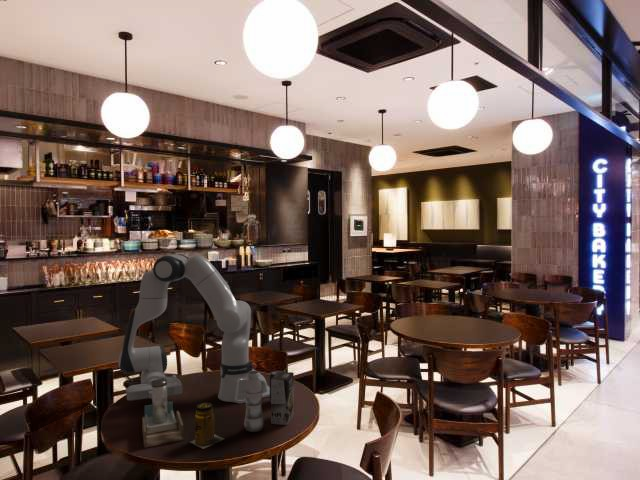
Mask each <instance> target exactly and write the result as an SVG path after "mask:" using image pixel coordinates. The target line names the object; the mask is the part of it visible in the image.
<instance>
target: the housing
mask: <svg viewBox="0 0 640 480" xmlns="http://www.w3.org/2000/svg"><path fill="white" fill-rule="evenodd" d="M176 422H177V429H172V430H166V431H161V432H155V433H150V434H147V432H146V425H145V416H142V417H141V427H142V429H141V432H142V439H143V447H144V448H149V447H154V446H155V447H156V446H161V445H164V444H169V443H170V444H171V443H175V442H180V441H184V440H185V439H184V423H183V419H182V416H181V413H180V410H177V411H176ZM144 448H143V449H144Z"/></svg>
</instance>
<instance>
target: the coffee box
mask: <svg viewBox="0 0 640 480" xmlns="http://www.w3.org/2000/svg"><path fill="white" fill-rule="evenodd" d="M294 375H295V374H294V372H292V371H291V372H289V371H288V372H287V371H285V372H277V373H276V375H275V376H274V377H273V378H272V379H271V401H270V424H273V425H281V426H287V425H288V424H289V423H290V421H291V420H292V418H293V417H294V414H295V413H294V411H295V410H294V408H295V407H294V405H295V403H294V402H295V400H294V399H295V397H294V394H295V393H294V391H295V390H294V385H295V384H294V383H295V382H294Z"/></svg>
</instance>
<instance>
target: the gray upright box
mask: <svg viewBox="0 0 640 480" xmlns="http://www.w3.org/2000/svg"><path fill="white" fill-rule="evenodd" d="M277 372H286V370H280V369H277V370H272V371H271V373H270V375H269V387H270V396H269V401H270V402H271V379H272V378H273V377H274V376H275V375H276V373H277Z"/></svg>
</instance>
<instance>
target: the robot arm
mask: <svg viewBox="0 0 640 480" xmlns="http://www.w3.org/2000/svg"><path fill="white" fill-rule="evenodd" d="M185 278H186V279H188V280H189V281H190V282H191V283H192V284H193V286H194V287H195V288H196V289H197V291H198V292H199V294H200V295H201V296H202V298H203V299H204V300H205V301H206V304H207V305H208V307H209V309H210V310H211V313H212V315H213V316H214V319H215V320H216V325H217V327H218V328H219V330H221V331H222V332H223V335H222V340H221V362H220V367H219V369H220V371H219V372H220V377H221V378H220V385H219V391H218V395H217V398H218V399H219V400H220V401H223V402H228V403H235V404H244V403H245V404H246V400H245V393H244V386H245V384H246V382H247V381H248V380H249V379H248V372H250V371H256V368H257V364H256V363H255V362H253V361H252V360H250V358H249V351H250V348H249V344H250V343H249V342H250V333H251V331H250V330H251V322H252V319H251V318H252V308H251V306H250V304H248V302H246V301H244V300H237V299H235V296H234V294H233V293H232V291H231V287H230V285H229V284H228V282H227V281H226V280H225V279H224V278H223V276H222V275H221V273H220V272H219V271H218V270H217V268H216V267H215V266H214V265H213V264H212V263H211V261H209V260H208V259H207V257H205V256H203V254H202V255H201V254H196V255H193V256H190V257H188V256H186V255H184V254H180V253H179V254H175V253H174V254H168V255H162V256H160V257H159V258H157V260H155V261H154V264H153V266H152V269H151V270H148V271H146V272H144V273H143V275H142V277H141V280H140V286H139V297H138V298H139V299H138V303H137V306H136V307H135V308H134V309H131V311H130V314H129V317H128V320H127V325H126V330H125V334H124V339H123V343H122V349H121V352H120V354H119V356H118V368H119V369H118V370H120V371H121V372H123V373H124V374H127V375H129V374H134V373H138V372H139V373H140V372H141V375H140V384H139V383H138V384H133V385H129V386H128V387H127V388H126V389H125V393H126V400H127V401H137V400H143V399H144V400H145V399H151V400H152V386H151V382H152V381H154V380H157V379H166V380H167V397H168V396H174V395H180V394H182V393H183V384H182V382H181V380H180V379H179V378H178V377H177V375H175V374H164V373H165V372H166V371H167V368H168V356H167V352H166V350H165V348H163V346H161V345H155V346H147V347H146V346H145V347H134V344H135V340H136V335H137V330H138V329H139V327H140V326H141V325H143V324H145V323H147V322H149V321H152V320H154V319H157V318H158V317H160V316H162V314H163V313H164V312H165V311H166V310H167V307H168V294H169V293H168V292H169V291H168V289H169V285H170V283H172V282H176V281H180V280H182V279H185ZM258 379H259V381H260V382H261V384H262V386H263V392H262V399H263V398H264V399H265V398H267V397H270V385H268V383H267V380H266V377H264V375H262V374H261V373H260V372H259V378H258Z"/></svg>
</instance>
